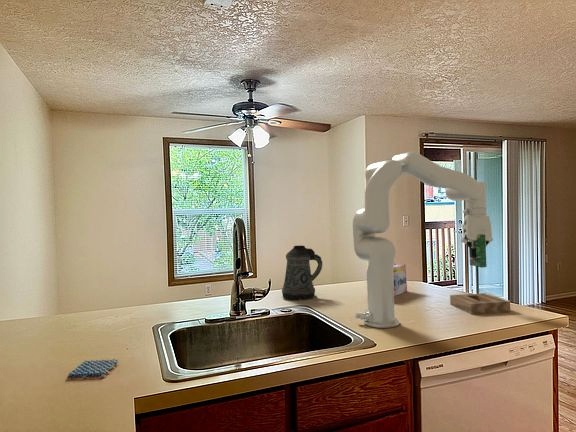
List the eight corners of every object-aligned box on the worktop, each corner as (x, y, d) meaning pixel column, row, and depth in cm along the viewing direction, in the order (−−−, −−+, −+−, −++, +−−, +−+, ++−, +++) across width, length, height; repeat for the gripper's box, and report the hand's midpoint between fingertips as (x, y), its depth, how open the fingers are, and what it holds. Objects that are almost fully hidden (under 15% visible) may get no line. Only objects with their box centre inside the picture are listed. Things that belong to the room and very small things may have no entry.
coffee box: (468, 265, 164) (467, 233, 163) (475, 264, 164) (474, 233, 164) (480, 267, 156) (479, 234, 155) (487, 267, 156) (486, 234, 156)
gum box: (394, 289, 202) (393, 263, 202) (408, 291, 197) (408, 264, 197) (369, 298, 185) (368, 269, 185) (384, 300, 180) (383, 270, 179)
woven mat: (120, 364, 114) (120, 357, 114) (104, 380, 103) (104, 373, 103) (84, 366, 114) (84, 359, 114) (64, 382, 103) (64, 375, 103)
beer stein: (276, 295, 197) (274, 246, 197) (310, 291, 205) (309, 243, 205) (290, 302, 182) (288, 248, 182) (326, 296, 190) (325, 245, 190)
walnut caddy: (471, 314, 151) (470, 303, 151) (450, 304, 167) (450, 294, 167) (510, 311, 153) (510, 300, 153) (485, 302, 169) (485, 292, 169)
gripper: (462, 213, 155) (463, 259, 155) (501, 211, 156) (502, 257, 157) (452, 213, 162) (453, 257, 163) (489, 211, 164) (490, 255, 164)
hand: (477, 257), depth 160 cm, fingers closed on coffee box, 3 cm apart
